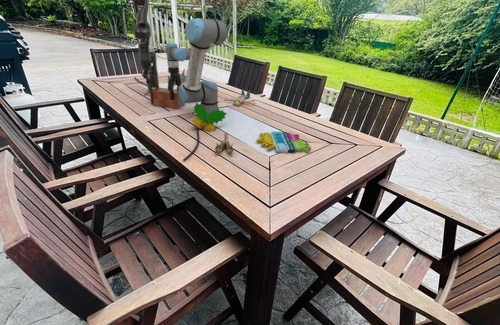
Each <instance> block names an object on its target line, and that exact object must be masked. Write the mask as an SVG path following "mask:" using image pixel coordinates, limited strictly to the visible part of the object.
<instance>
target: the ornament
mask: <svg viewBox="0 0 500 325" xmlns="http://www.w3.org/2000/svg"><path fill="white" fill-rule="evenodd" d="M219 110H220V108H219V109H217V110H216V111H214V110H212V112H211V113H208V112H206V109H204V106H201V103H199V102H195V105H194V106H193V112H194V113H195V118H192V119H191V122H192V123H193V125H195V127H196V128H197V127H198V129H202V130H203V131H206V132H212V131H213V132H214V131H215V130H216V126H215V124H218V123H219V122H223V119H226V115H227V114H228V113H227V112H224V110H223V109H221V110H220V111H219ZM207 113H208V115H207ZM204 121H205V122H204ZM214 123H215V124H214Z"/></svg>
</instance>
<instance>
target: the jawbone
mask: <svg viewBox="0 0 500 325" xmlns="http://www.w3.org/2000/svg"><path fill="white" fill-rule="evenodd" d="M223 135H224V136H223V140H222V139H221V142H220V144H218V142H215V144H216V146H215V148H214V149H215V152H214V154H215V155H217V156H218V155H220V153H221V152H223V151H224V150H226V152H227V153H228V155H229V156H233V155H234V154H233V153H234V148H233V144H234V143H230V140H228V139H229V138H228V137H229V136H228V135H229V133H228V131H226V132H224V134H223Z"/></svg>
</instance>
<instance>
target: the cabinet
mask: <svg viewBox="0 0 500 325" xmlns="http://www.w3.org/2000/svg"><path fill="white" fill-rule="evenodd" d="M173 91H174V100H170V91H168V87H159V88H157V89H155V90H152V94H153V102H154V104H153V106H154V107H161V108H169V109H175V110H179V109H181V108H182V107H184V106H185V103H183V102H182V100H181V98H180V95H179V91H178V90H177V88H176V89H175V88H173Z"/></svg>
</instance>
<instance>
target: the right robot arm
mask: <svg viewBox="0 0 500 325" xmlns="http://www.w3.org/2000/svg"><path fill="white" fill-rule="evenodd" d="M185 33H186V39H187V41H188V43H189V45H190V47H179V46H178V43H176V42H167V43H166V45H165V51H166V62H167V72H168V73H169V75H167V76H168V77H167V79H168V81H167V88H168V91H170V100H174V91H173V89H174V87H175V85H176V90H178V91H179V95H180V98H181V100H182V102H183V103H184V104H194V103H195V104H196V102H197V103H200V104H201V106H204V109H206V112H208V113H211V112H212V110H214V111H216V110H217V109H219V111H221V110H220V108H219V102H218V99H219V98H218V97H219V87H218V84H217V83H216V82H214V81H211V80H201V79H202V74H203V68H204V63H205V59H206V54H207V53H208V52H211V50H213V49H214V48H215V47H216V46H220V45H222V44H223V43H224V42H226V40H227V38H228V28H227V26H226V24H225V23H224V22H223V21H221V20H220V19H212V18H210V19H209V18H200V17H197V18H191V19H190V20H189V21H188V22H187V24H186V28H185ZM185 61H188V64H187V70H186V76H187V77H186V79H185V80H184V81H183V82H182V83H181V79H180V75H181V74H180V64H179V63H180V62H185ZM174 82H176V84H174ZM208 113H207V115H208ZM204 123H205V121H204ZM196 136H197V139H196V140H197V142H196V145H195V147H194V148H193V149H192V151H191V152H190V153H189V154H188V155H187V156H185V157H184V158H183V162H185V161H186V160H188V159H189V158H190V157H191V156H192V155H193V154H194V153H195V152H196V150H197V149H198V147H199V144H200V133H199V128H198V127H197V126H196Z"/></svg>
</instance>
